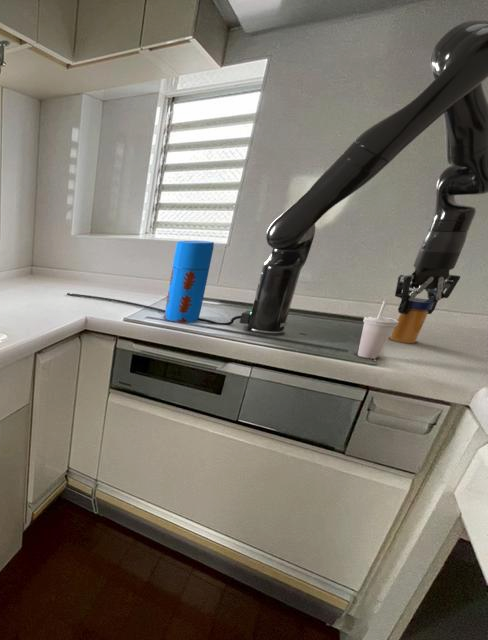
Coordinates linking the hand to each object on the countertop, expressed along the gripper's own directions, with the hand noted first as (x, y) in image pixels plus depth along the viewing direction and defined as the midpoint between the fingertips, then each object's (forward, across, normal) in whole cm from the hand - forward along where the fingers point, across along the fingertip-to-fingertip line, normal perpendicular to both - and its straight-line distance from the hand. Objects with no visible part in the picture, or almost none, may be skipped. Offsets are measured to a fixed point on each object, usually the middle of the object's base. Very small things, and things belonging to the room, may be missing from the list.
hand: (414, 313), depth 110 cm
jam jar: (+8, 0, 0) cm, 8 cm away
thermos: (+8, -52, +24) cm, 58 cm away
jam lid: (-3, 0, 0) cm, 3 cm away
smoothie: (+8, -21, -13) cm, 26 cm away
